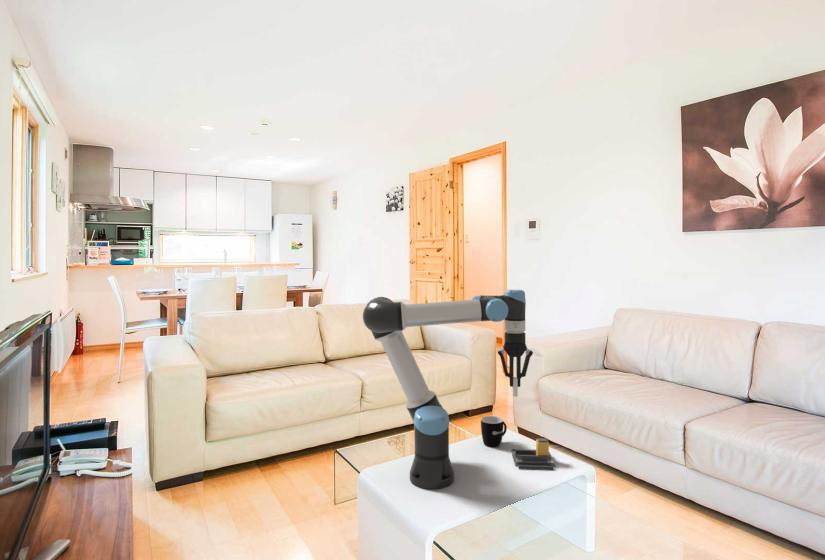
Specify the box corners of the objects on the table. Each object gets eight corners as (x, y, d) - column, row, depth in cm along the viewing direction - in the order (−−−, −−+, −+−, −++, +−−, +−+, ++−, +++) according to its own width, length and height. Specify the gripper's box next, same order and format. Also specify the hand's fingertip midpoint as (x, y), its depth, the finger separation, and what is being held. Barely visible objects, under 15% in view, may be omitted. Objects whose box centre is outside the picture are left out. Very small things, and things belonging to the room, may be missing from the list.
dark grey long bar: (519, 469, 168) (519, 466, 168) (518, 467, 169) (518, 465, 169) (553, 470, 167) (553, 467, 167) (552, 468, 168) (552, 466, 168)
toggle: (537, 458, 173) (537, 441, 172) (536, 455, 176) (536, 437, 176) (548, 459, 172) (548, 441, 172) (547, 455, 176) (547, 438, 175)
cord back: (512, 452, 183) (512, 449, 182) (512, 451, 184) (512, 448, 183) (541, 454, 181) (541, 451, 181) (541, 453, 182) (541, 450, 182)
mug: (490, 450, 185) (490, 424, 184) (476, 442, 192) (476, 418, 192) (513, 444, 191) (513, 419, 190) (498, 437, 198) (498, 413, 198)
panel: (515, 466, 170) (515, 458, 170) (512, 454, 180) (512, 447, 180) (555, 467, 169) (555, 459, 169) (549, 455, 179) (549, 448, 179)
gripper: (497, 333, 170) (498, 398, 171) (534, 333, 169) (534, 398, 170) (496, 330, 178) (496, 392, 178) (531, 330, 176) (531, 392, 177)
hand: (514, 395), depth 174 cm, fingers closed
